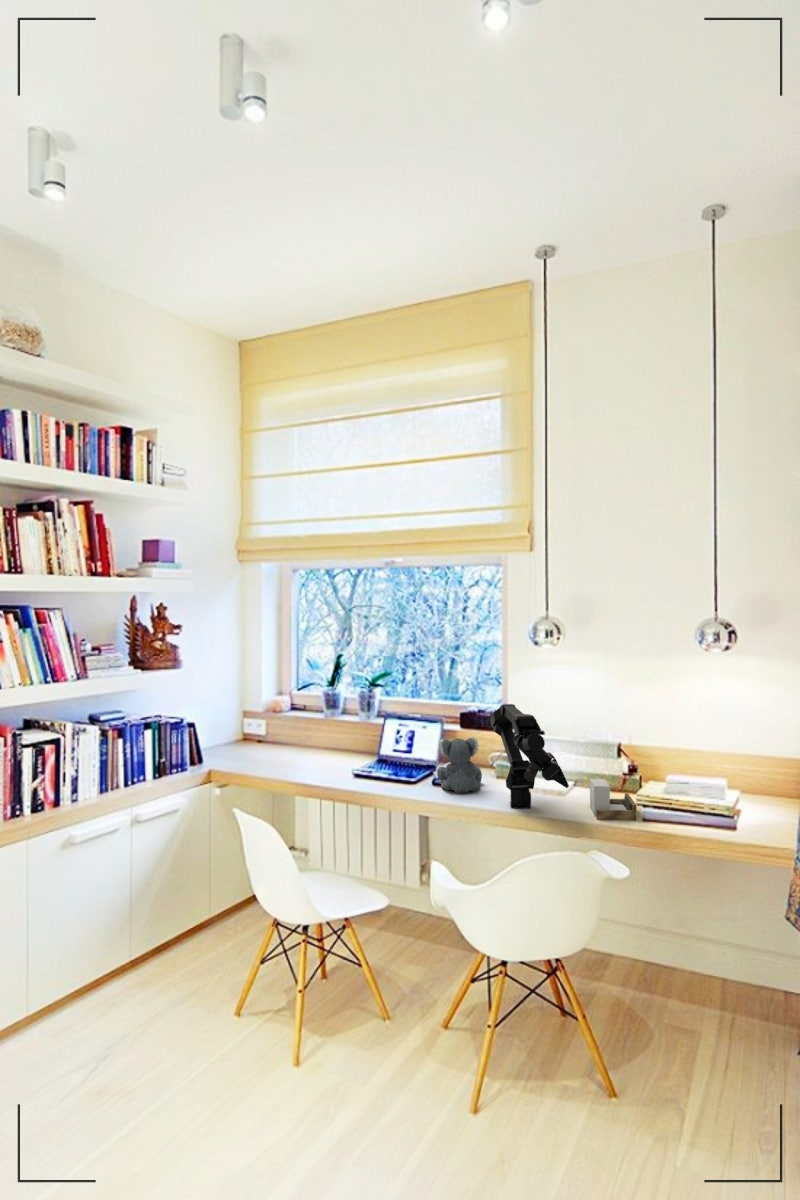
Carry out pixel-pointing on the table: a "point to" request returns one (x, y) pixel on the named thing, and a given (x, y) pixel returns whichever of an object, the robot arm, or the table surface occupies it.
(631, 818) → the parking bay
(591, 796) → the grey block with dot
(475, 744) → the koala plush
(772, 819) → the table surface
